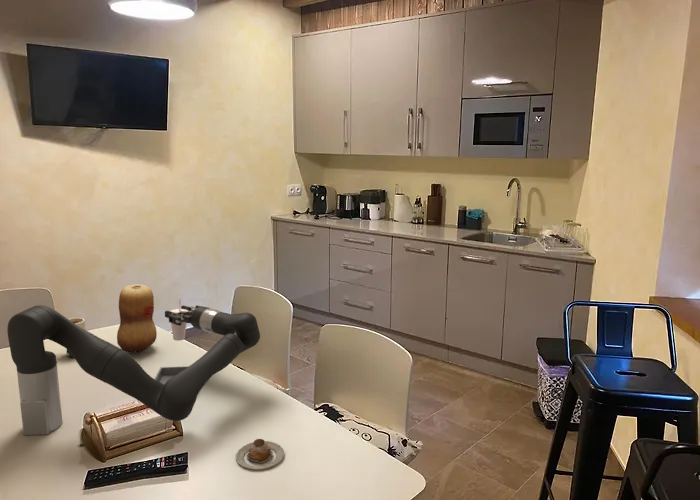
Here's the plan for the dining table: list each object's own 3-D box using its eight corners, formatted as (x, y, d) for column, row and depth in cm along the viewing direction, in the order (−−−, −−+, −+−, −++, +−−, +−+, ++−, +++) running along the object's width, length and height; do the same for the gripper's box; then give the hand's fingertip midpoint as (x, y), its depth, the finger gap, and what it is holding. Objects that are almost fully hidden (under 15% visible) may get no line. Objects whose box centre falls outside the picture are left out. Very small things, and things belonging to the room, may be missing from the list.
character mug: (58, 354, 193) (55, 320, 191) (77, 348, 199) (74, 315, 196) (75, 362, 187) (72, 326, 185) (94, 355, 193) (91, 321, 190)
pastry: (261, 439, 142) (261, 424, 141) (294, 456, 135) (294, 440, 134) (225, 460, 133) (225, 443, 132) (258, 479, 126) (258, 461, 125)
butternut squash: (140, 360, 189) (136, 292, 184) (110, 355, 193) (105, 288, 188) (165, 347, 202) (162, 283, 197) (136, 342, 206) (132, 279, 201)
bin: (196, 394, 166) (195, 383, 165) (151, 396, 164) (151, 385, 163) (202, 375, 178) (201, 366, 178) (161, 377, 177) (160, 367, 176)
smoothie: (191, 336, 186) (192, 297, 184) (183, 342, 180) (184, 302, 177) (174, 334, 187) (174, 295, 184) (165, 340, 180) (165, 300, 178)
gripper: (192, 337, 169) (157, 327, 178) (225, 325, 181) (190, 316, 190) (191, 314, 168) (155, 305, 176) (224, 303, 180) (189, 295, 188)
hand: (174, 311), depth 183 cm, fingers closed on smoothie, 6 cm apart
